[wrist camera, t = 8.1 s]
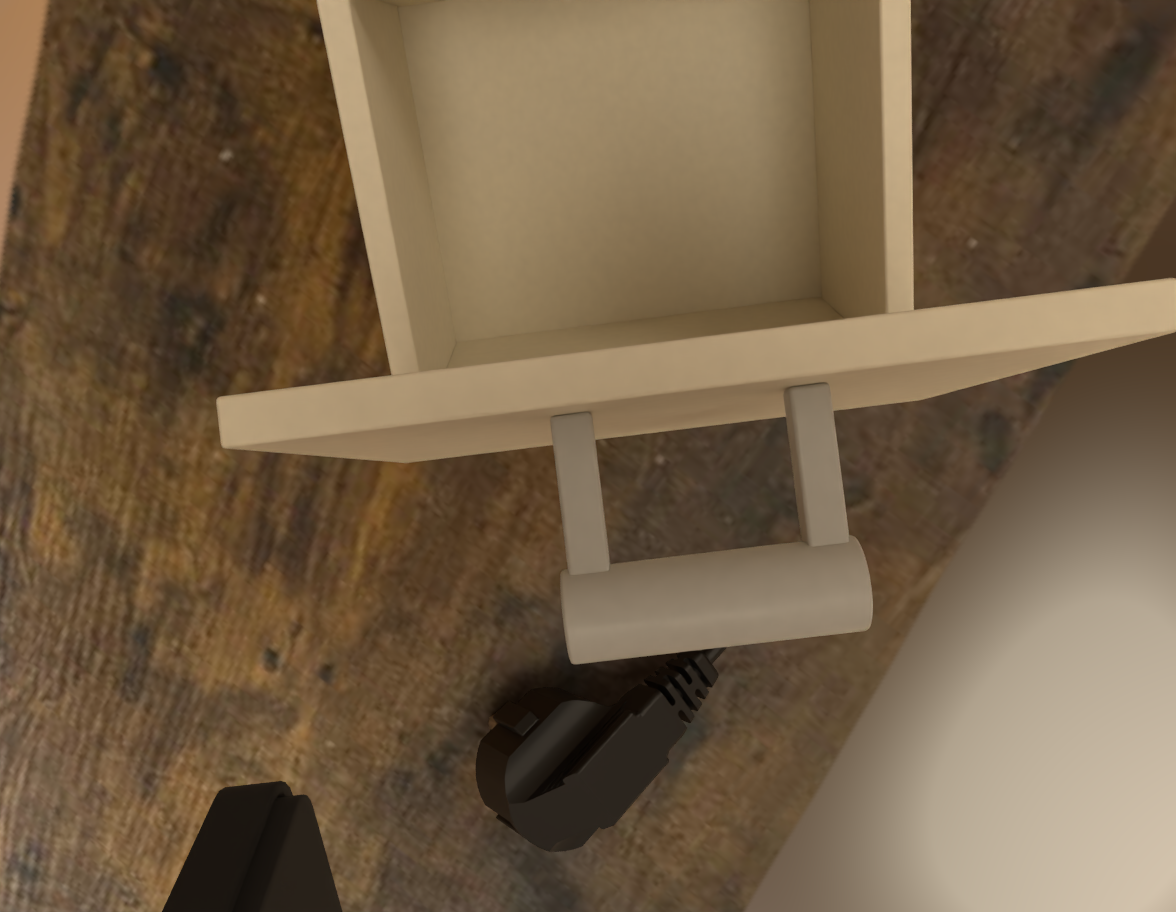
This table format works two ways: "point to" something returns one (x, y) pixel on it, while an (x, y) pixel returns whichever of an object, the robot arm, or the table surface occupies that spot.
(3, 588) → the table surface
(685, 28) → the compartment
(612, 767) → the power plug
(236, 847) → the robot arm
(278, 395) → the lid
